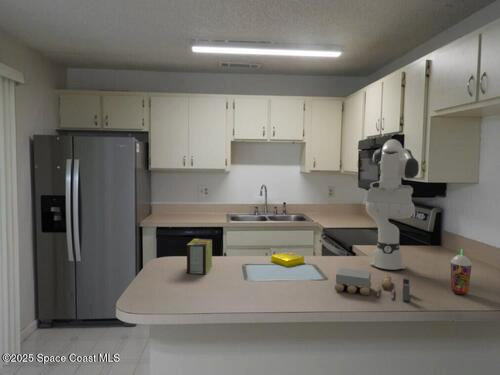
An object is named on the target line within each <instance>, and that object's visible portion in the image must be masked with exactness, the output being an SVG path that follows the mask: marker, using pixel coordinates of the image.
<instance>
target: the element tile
mask: <svg viewBox="0 0 500 375" xmlns="http://www.w3.org/2000/svg"><path fill="white" fill-rule="evenodd" d="M270 261H271V262H272V263H275V264H276V265H280V266H282V267H285V268H286V267H287V268H288V267H293V266H298V265H303V264H305V256H304V255H300V254H297V253H293V252H290V251H286V252H280V253H274V254H271V256H270Z"/></svg>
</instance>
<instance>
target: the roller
mask: <svg viewBox="0 0 500 375" xmlns="http://www.w3.org/2000/svg"><path fill="white" fill-rule="evenodd" d="M381 287H382V289H383V290H386V291H388V290H390V289H391V287H392V277H391V275H389V274H385V275H383V278H382V283H381Z"/></svg>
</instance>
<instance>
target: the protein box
mask: <svg viewBox="0 0 500 375" xmlns="http://www.w3.org/2000/svg"><path fill="white" fill-rule="evenodd" d="M212 265H213V239H210V238H208V239H207V238H193V239H192V240H190V242H188V243H187V244H186V274H190V275H207V273H208V272H209V269H210V270H211V268H212V267H213V266H212Z"/></svg>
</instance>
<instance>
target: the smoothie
mask: <svg viewBox="0 0 500 375" xmlns="http://www.w3.org/2000/svg"><path fill="white" fill-rule="evenodd" d="M449 262H450V285H451V286H450V289H452V292H453V293H455V294H459V295H466V294H467V293H468V292H469V289H470V282H471V281H470V280H471V279H470V278H471V273H472V265H473V264H472V262H471V260H470V259H469V257H467V255H463V249H462V248H461V249H460V254H457V255H454V257H452V259H451V260H450V261H449Z"/></svg>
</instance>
